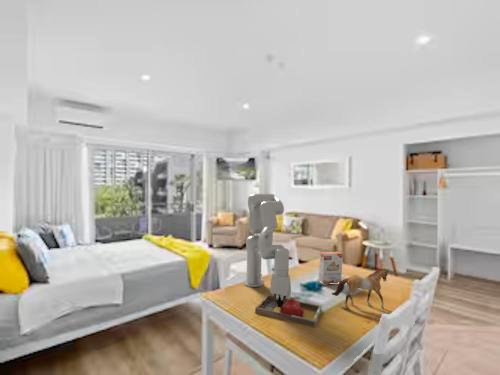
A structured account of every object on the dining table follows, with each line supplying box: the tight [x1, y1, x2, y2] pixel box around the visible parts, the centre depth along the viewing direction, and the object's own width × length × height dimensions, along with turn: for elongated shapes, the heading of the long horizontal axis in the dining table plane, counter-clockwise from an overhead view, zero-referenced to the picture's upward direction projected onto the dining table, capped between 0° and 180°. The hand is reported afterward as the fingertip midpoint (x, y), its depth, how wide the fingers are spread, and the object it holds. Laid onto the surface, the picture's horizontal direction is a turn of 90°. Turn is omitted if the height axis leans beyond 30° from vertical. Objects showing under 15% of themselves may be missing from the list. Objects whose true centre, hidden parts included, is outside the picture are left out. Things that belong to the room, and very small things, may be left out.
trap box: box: [255, 294, 322, 328], centre depth 140 cm, size 18×30×3 cm, turn 65°
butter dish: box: [279, 297, 304, 318], centre depth 138 cm, size 12×12×8 cm
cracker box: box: [318, 251, 344, 284], centre depth 181 cm, size 14×6×21 cm, turn 105°
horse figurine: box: [331, 268, 389, 309], centre depth 149 cm, size 31×8×21 cm, turn 91°
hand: (280, 306), depth 142 cm, fingers closed
